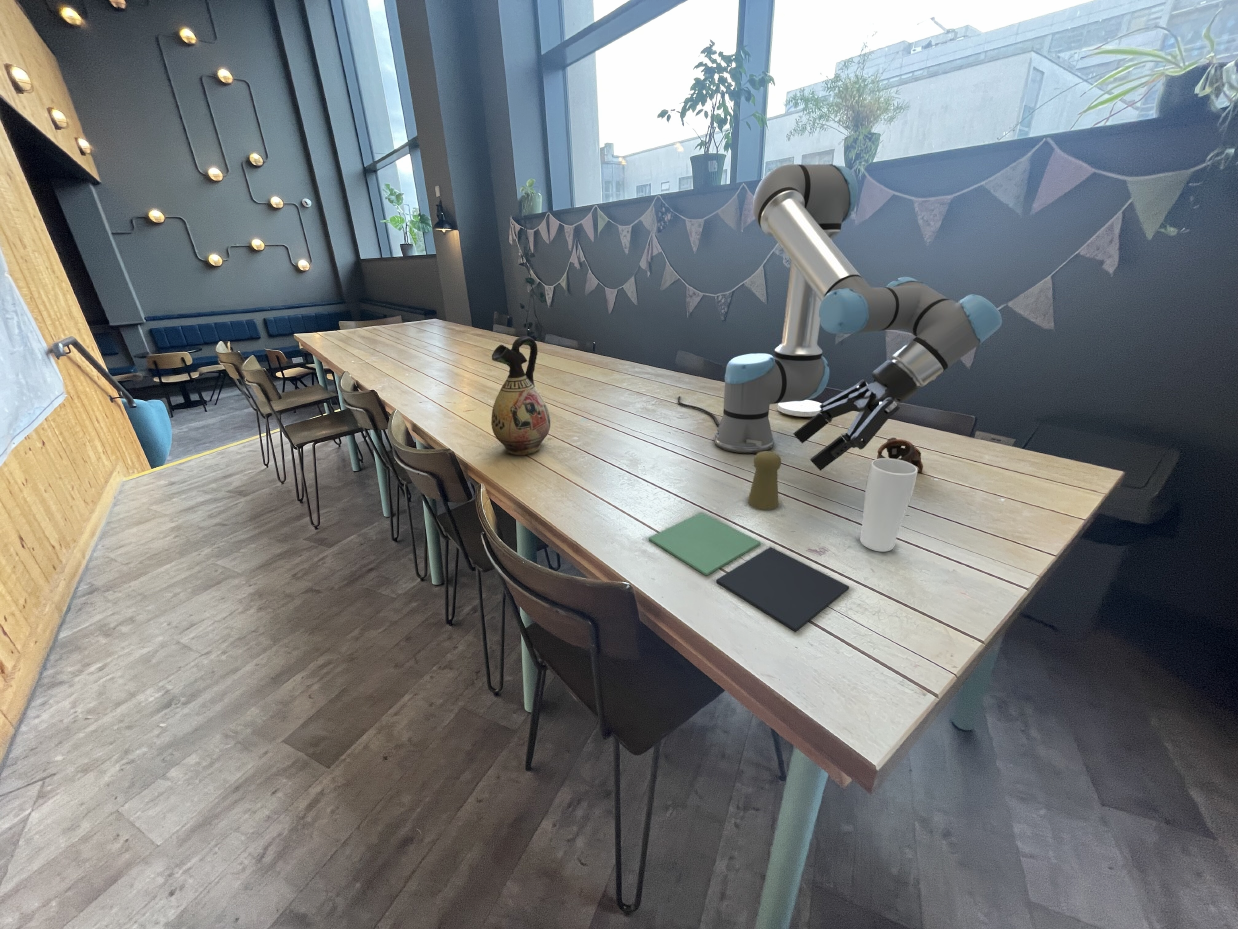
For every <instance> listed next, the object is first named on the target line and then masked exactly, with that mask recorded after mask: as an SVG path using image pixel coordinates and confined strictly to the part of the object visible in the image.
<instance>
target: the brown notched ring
mask: <svg viewBox="0 0 1238 929" xmlns="http://www.w3.org/2000/svg"><path fill="white" fill-rule="evenodd" d="M884 450H886V452H887V457H886V456H884V455H883V452H884ZM880 458H891V459H898V460H902V461H906V462H908V463H911V464H913V465H914V466H915V467H916V468H917V469H918V471H919V473H923V471H924V470H923V469H924V463H923V462H922V452H921V451H920V449H919V448H917V447H916V446H915V445H914V444H913V443H912V442H911V441H909V440H906V439H900V438H898V439H897V437H890V438H888V439H887V441H885V442H884V443H882V444H881V445H880V446H879V448H878V450H877V455H876V459H880Z"/></svg>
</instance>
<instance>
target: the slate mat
mask: <svg viewBox="0 0 1238 929" xmlns="http://www.w3.org/2000/svg"><path fill="white" fill-rule="evenodd" d="M715 582H716V584H718V585H720V586H721V587H723V588H725V589H726V590H728V591H729V592H731V593H733V594H735V596H738V597H739V598H741V599H742V600H744V601H746V602H747V603H749V604H750V605H752V606H753V607H755V608H757V609H758V610H759V611H762V612H763V613H765V614H766V615H768V616H769V617H771V618H773V619H774V620H775V621H777V622H778V623H781V624H782V625H784V626H785V627H787V628H788V629H790V630H792V631H793V632H797V631H799V630H800V629H801V628H803V627H804V626H805V625H806V624H807V623H809V622H810V621H811V620H812V619H813V618H814V617H816V616H817V615H819V614H820V613H821V612H822V611H824V610H825V609H826V608H827V607H828V606H829V605H831V604H833V602H835V600H837V599H839V598H840V597H841V596H842V595H844V593H845V592H847V591H848V590H850V586H849V585H847V584H845V583H844V582H841V581H839V580H837V579H835V578H833V577H832V576H829V575H828V574H826V573H824V572H822V571H819V570H817V569H815V568H813V567H811V566H809V565H807V564H806V563H804V562H802V561H799V560H798V559H795V558H794V557H792V556H790V555H788V554H786V553H784V552H782V551H780V550H777V549H775V548H773V547H772V546H769V547H768V548H766V549H765V550H763V551H761V552H759V553H758V554H756V555H755V556H753V557H751V558H750V559H748V560H747V561H745V562H743V563H741V564H740V565H738V566H737V567H734V568H733V569H731V570H730V571H727V573H725V574H723V575H721V576H719V577H718V578H717V579H716V580H715Z"/></svg>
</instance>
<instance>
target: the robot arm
mask: <svg viewBox="0 0 1238 929" xmlns="http://www.w3.org/2000/svg"><path fill="white" fill-rule="evenodd" d="M754 191H755V192H754V195H753V201H752V211H753V216H754V218H755V221H756V223H757V225H758V226H759V228H760V229H761V230H762V232H763V233H764V234H765V235H767V236H770V237H773V238H774V239H775V241H776V242H777V244H779V246H780V247H781V249H782V250H783V252H784V253H785V255H786V256H787V257H788V259H789V260H790V268H789V274H788V282H787V283H788V284H787V294H786V302H785V309H784V318H783V326H782V327H783V328H782V335H781V336H782V338H781V343H780V344H779V345H778V346H776V347H775V348H774V354H773V355H772V354H769V353H762V352H758V353H747V354H742V355H738V356H735V357H733V358H732V359H730V360H729V361H728V363H727V364H726V368H725V375H724V393H723V396H724V397H723V410H722V417H721V419H720V421H718V419H717V416H716V415H714V414H713V413H712V412H710V411H708V410H706V409H704V408H702V407H699V406H695V405H693V404H687V403H683V402H682V401H681V398H682V397H681V395H678V397H677V403H678V404H679V405H680V406H683V407H686V408H692V409H696V410H699V411H701V412H704V413H706V414H708V415H709V416H711V417H712V418H713V420H714V423H715V424H716V426H717V429H716V432H715V435H714V444H715V445H716V446H717V447H718V448H720V449H721V450H724V451H728V452H731V453H738V454H757V453H759V452H763V451H770V449H772V447H773V446H774V436H773V433H772V428H771V423H770V420H769V416H770V415H769V414H770V406H771V405H773V404H774V405H776V404H778V403H785V402H793V401H804V400H812V399H815V398H817V397H818V396H819V395H821V394H822V393H823V392H824V390H825V389H826V387H827V385H828V384H829V379H830V367H829V366H828V365H829V362H828V361H827V358H825V357H824V356H823V349H822V348H821V346H819V345H818V340H819V335H820V334H819V333H820V328H822V329H823V330H824V331H825V332H827V333H829V334H833V335H834V334H836V335H837V334H839V335H840V334H841V335H842V334H843V335H853V334H860V333H868V332H869V333H871V332H881V331H883V332H884V331H894V330H905V331H907V332H908V333H910V334H911V335H912V336H914V338H913V339H912V340H909V342H908V343H906V344H905V345H904V346H902V347H901V348H900V349H899V350H897V351H896V352H894V353H893V354H892V355H891V360H886V361H884V362H883V363H882V364H881V365H879V366H878V367H876V369H874V370H873V371H872V372H871V377H872V379H873V381H872V382H870V383H868V382H867V381H866V380H865V379H861V380H860V381H858V382H857V383H856V384H854V385H853V386H851V387H849V388H848V389H845V390H844V391H842V392H840V393H839V394H836V395H835V396H833V397H831V398H830V399H827V400H826V401H825V402H823V403H821V405H820V406H819V407H820V408H821V409H820V411H819V412H820V413H818V414H817V415H816V416H812V418H811V419H809V420H808V421H807V422H805V423H804V424H803V425H802V426H800V427H799V428H798V429H797V430H796V431H795V432H793V436H794V437H795V438H796V439H797V440H798V442H800V443H801V444H802V445H803V444H804V443H805V442H807V441H808V440H809V439H810V438H812V437H813V436H814V435H815V434H816V433H818V432H819V431H820V430H822V429H823V428H825V426H827V425H829V424H830V423H832V420H833V419H835V418H837V417H840V416H843V415H846V414H848V413H851V412H853V411H857V412H858V413H857V415H856V416H855V418H854V420H853V421H852V423H851V424H850V427H849V428H848V429H847V431H846V432H844V433H840V435H839V436H838V437H837V438H836V439H834V440H832V441H831V442H830V443H829V444H828V445H827V446H825V447H824V448H822V449H821V450H819V451H818V452H817V453H815V455H813V456H812V457H810V459H809V460H810V462H811V463H812V464H813V465H814V466H815V467H816V468H817V469H818V470H819V471H822V470H824V469H826V467H828V466H829V465H830V464H832V463H833V462H834V461H835V460H837V459H838V458H840V457H841V456H842V455H843V454H845V453H846V452H848V451H849V450H851V449H855V448H857V449H858V450H860V451H861V450H863V449H865V448H866V447H867V445H868V444H869V443H870V442H871V440H872V439H873V438H874V437H875V436H876V434H877V433H878V432H879V431H880V430H881V429H882V427H883V426H884V425H885V424H886V423H887V422H888V420H889V419H890V418H891V417H893V415H895V413H897V411H899V410H900V406H899V405H898V403H899V404H902V403H904V402H905V401H908V399H910V398H912V396H914V395H915V394H916V393H918V392H919V391H918V390H919V387H922V388H923V387H925V386H926V385H927V384H929V383H930V382H932V381H935V380H936V379H937V377H938V376H939V375H941V374H942V373H943V372H944V371H946V370H947V369H949V368H950V367H951V366H953V365H954V364H955V363H956V362H957V361H959V360H960V359H961V358H962V359H963V357H964V356H966V355H967V354H968V353H970V352H971V351H973V350H974V349H976V348H977V347H979V346H981V345H982V344H983V343H984V342H985V341H986V340H987V339H988V338H990V337H991V336H992V335H993V334H994V333H995V332H996V331H998V330H999V329H1000V328H1001V326H1002V324H1003V318H1002V314H1001V312H1000V311H999V309H998V308H997V307H996V306H995V305H994V304H993V303H992V302H991V301H990V300H988V299H987V298H985V297H984V296H981V295H980V294H976V293H975V294H974V293H972V294H967V295H966V296H965V297H963V298H962V299H960V300H959V301H957V302H956V301H955V300H952V299H950V298H948V297H947V296H945V295H943V294H941V293H940V292H938V291H937V290H935V289H933V288H932V287H930V286H928V285H927V283H924V282H923V281H921V280H917V279H915V278H913V277H910V276H902V277H899V278H897V279H896V280H893V281H891V282H889V283H888V284H887V285H886V286H880V287H872V286H870V285H869V283H868V282H867V281H866V280H865V279H864V277H862V275H861V274H860V273H859V272H858V271H857V269H856V268H855V267H854V265H853V264H852V263H851V262H850V261H849V260H848V258H847V257H846V256H845V255H844V253H843V252H842V251H841V250H840V248H838V246H837V245H836V244H835V242H833V240H834V238H835V237H836V236H837V235H838V234H839V233H841V232H842V224H843V223H844V222H846V221H847V220H848V219H850V217H851V216H852V212H854V211H855V209H856V206H857V202H858V197H859V186H858V181H857V179H856V175H855V174H853V172H852V170H851V169H850V168H848V167H847V166H844V165H838V164H833V163H829V164H828V163H826V164H825V163H824V164H821V163H820V164H817V163H815V164H813V163H812V164H810V163H809V164H808V163H807V164H799V163H786V164H782V165H779V166H777V167H774V168H773V169H772V170H770V171H769V172H768V173H766V174H765V175H764V177H763V178H762V179H761V180H760V182H759V183H758V185H757V187H756V189H755V190H754Z"/></svg>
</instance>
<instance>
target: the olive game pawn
mask: <svg viewBox="0 0 1238 929" xmlns="http://www.w3.org/2000/svg"><path fill="white" fill-rule="evenodd" d="M753 466H754V467H755V470H754V475H753V479H752V482H751V487H750V491H749V495H748V499H747V503H748V505H749V506H751V507H752V508H754V509H757V510H762V511H772V510H776V508H778V507H779V479H778V478H779V477H778V476H779V475H778V471H779V470H780V468H781V466H782V458H781V456H780V455H779V454H778V453H776V452H774V451H770V450H767V451H763V452H759V453H756V454H755V456H754V458H753Z"/></svg>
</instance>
